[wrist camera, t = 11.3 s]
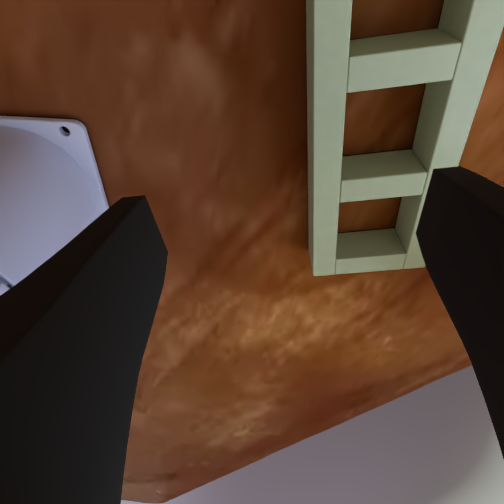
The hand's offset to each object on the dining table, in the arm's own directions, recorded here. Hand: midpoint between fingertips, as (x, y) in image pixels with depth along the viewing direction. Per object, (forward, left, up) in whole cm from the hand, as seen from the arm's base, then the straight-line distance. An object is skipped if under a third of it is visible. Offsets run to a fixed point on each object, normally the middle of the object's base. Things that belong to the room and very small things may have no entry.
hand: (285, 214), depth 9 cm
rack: (+6, -1, -10) cm, 12 cm away
